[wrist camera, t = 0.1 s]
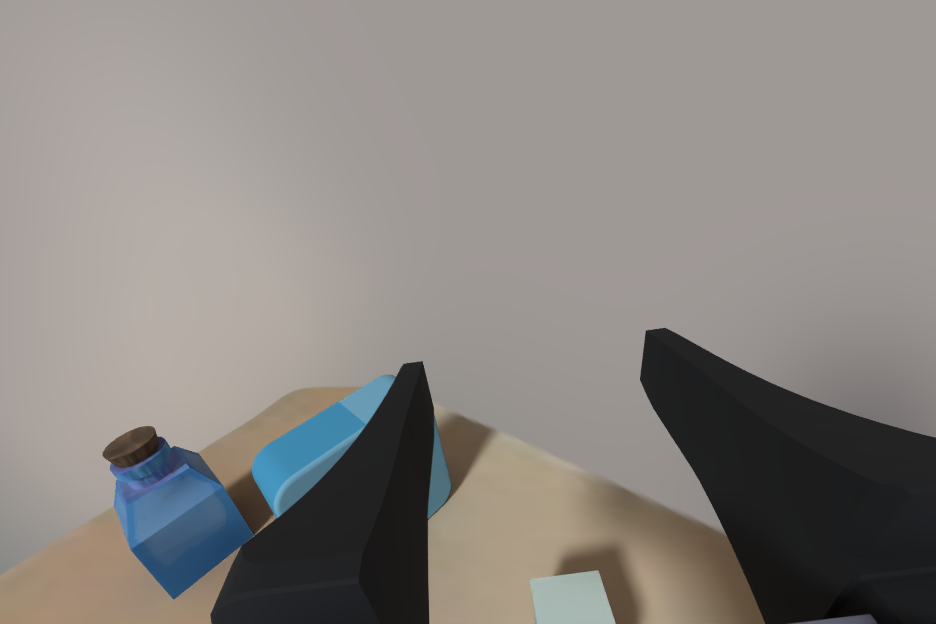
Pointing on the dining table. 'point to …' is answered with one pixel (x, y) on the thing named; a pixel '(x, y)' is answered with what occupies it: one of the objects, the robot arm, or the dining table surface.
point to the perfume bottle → (172, 509)
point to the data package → (331, 450)
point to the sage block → (571, 599)
